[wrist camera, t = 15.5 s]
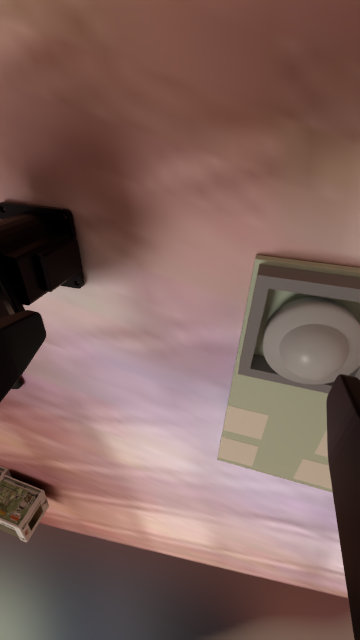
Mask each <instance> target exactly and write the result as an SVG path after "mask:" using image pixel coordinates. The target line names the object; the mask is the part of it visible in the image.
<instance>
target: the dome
mask: <svg viewBox="0 0 360 640" xmlns="http://www.w3.org/2000/svg"><path fill="white" fill-rule="evenodd" d="M263 352H264V356H265V359H266V361H267V363H268V364H269V366H270V367H271V368H272V369H273V370H274V371H275V372H276V373H278V374H279V375H281V376H282V377H284V378H286V379H288V380H291V381H294V382H298V383H302V384H326V383H331V382H334V381H335V379H336V377H337V376H338V375H340V374H344V375H350V374H351V373H352V372H354V371H355V370H356V369H357V368H358V367H359V366H360V323H359V321H358V319H357V317H356V316H355V314H354V313H353V312H352V311H351V310H350V309H349V308H347V307H346V306H344V305H343V304H341V303H339V302H337V301H334V300H331V299H326V298H318V297H310V298H302V299H298V300H294V301H292V302H289V303H287V304H285V305H283V306H282V307H280V308H279V309H277V310H276V311H275V312H274V313H273V314H272V315H271V317H270V318H269V319H268V321H267V323H266V326H265V329H264V340H263Z"/></svg>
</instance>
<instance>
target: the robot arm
mask: <svg viewBox="0 0 360 640" xmlns="http://www.w3.org/2000/svg"><path fill="white" fill-rule="evenodd" d="M4 209H5V210H4ZM64 214H65V215H66V217H67V219H66V218H65V217H64ZM77 281H78V282H79V283H77ZM60 285H61V286H66V287H72V288H81V287H82V286H84V277H83V272H82V263H81V258H80V252H79V246H78V241H77V238H76V232H75V226H74V221H73V216H72V213H71V212H70V211H69V210H68V209H66V208H57V207H47V206H38V205H29V204H20V203H11V202H1V203H0V402H1V401H2V400H3V398H4V397H5V396H6V395H7V393H8V392H9V391H10V390H11V388H12V387H13V386H14V385H15V383H16V382H17V381H18V379H19V378H20V377H21V375H22V374H23V372H24V371H25V369H26V368H27V366H28V365H29V363H30V362H31V360H32V359H33V357H34V356H35V354H36V352H37V351H38V349H39V348H40V346H41V345H42V343H43V342H44V340H45V338H46V331H45V327H44V324H43V320H42V317H41V315H40V314H39V313H38V312H34V311H29V310H25V309H24V307H23V305H30V304H32V303H33V302H34V301H36V300H37V299H39V298H40V297H42V296H43V295H44V294H46V293H47V292H52V291H53V290H54V289H56V288H57V287H59V286H60ZM326 410H327V450H328V463H329V471H330V478H331V484H332V491H333V498H334V504H335V511H336V518H337V525H338V531H339V538H340V545H341V552H342V558H343V565H344V572H345V579H346V585H347V592H348V599H349V606H350V612H351V618H352V626H353V633H354V639H355V640H360V380H359V379H358V378H357V377H354V376H349V375H344V374H340V375H338V376H337V377H336V379H335V381H334V383H333V385H332V387H331V390H330V392H329V394H328V396H327V402H326Z"/></svg>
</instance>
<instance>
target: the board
mask: <svg viewBox="0 0 360 640" xmlns="http://www.w3.org/2000/svg"><path fill="white" fill-rule="evenodd" d="M310 297H318V298H326V299H331V300H334V301H337V302H339V303H341V304H343V305H344V306H346V307H347V308H349V309H350V310H351V311H352V312H353V313H354V314H355V316H356V317H357V319H358V321H359V323H360V268H357V267H349V266H341V265H333V264H325V263H317V262H309V261H302V260H294V259H286V258H278V257H270V256H262V255H256V258H255V264H254V269H253V274H252V279H251V285H250V290H249V295H248V300H247V306H246V311H245V316H244V321H243V327H242V332H241V337H240V342H239V348H238V353H237V358H236V363H235V369H234V374H233V379H232V384H231V390H230V395H229V400H228V406H227V411H226V416H225V421H224V427H223V432H222V437H221V442H220V448H219V453H218V458H217V460H220V461H224V462H227V463H231V464H234V465H238V466H241V467H245V468H248V469H252V470H255V471H259V472H263V473H266V474H270V475H273V476H277V477H280V478H284V479H287V480H291V481H294V482H298V483H301V484H305V485H308V486H312V487H315V488H319V489H322V490H326V491H329V492H333V491H332V484H331V478H330V471H329V463H328V450H327V410H326V402H327V396H328V394H329V392H330V390H331V387H332V385H333V383H334V382H331V383H326V384H302V383H298V382H294V381H291V380H288V379H286V378H284V377H282V376H281V375H279V374H278V373H276V372H275V371H274V370H273V369H272V368H271V367H270V366H269V364H268V363H267V361H266V359H265V356H264V352H263V340H264V329H265V326H266V323H267V321H268V319H269V318H270V317H271V315H272V314H273V313H274V312H275V311H276V310H277V309H279V308H280V307H282V306H283V305H285V304H287V303H289V302H292V301H294V300H298V299H302V298H310ZM349 376H354V377H357V378H358V379H359V380H360V366H359V367H358V368H357V369H356V370H355V371H354V372H352V373H351V374H350V375H349Z"/></svg>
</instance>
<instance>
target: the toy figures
mask: <svg viewBox="0 0 360 640" xmlns="http://www.w3.org/2000/svg"><path fill="white" fill-rule="evenodd" d="M48 507H49V504H48V501H47V498H46V495H45V492H44V490H41V489H39V488H36V487H34V486H31V485H29V484H26V483H24V482H21V481H19V480H16V479H14V478H12V476H11V474H10V472H9V470H8V469H7V468H4V467H2V466H0V530H2V531H4V532H7V533H9V534H11V535H14V536H16V537H18V538H20V540H22V541H25V542H28V540H29V538H30V537H31V535H32V533H33V532H34V530H35V528H36V526H37V525H38V523H39V522H40V520H41V519H42V517H43V515H44V514H45V512H46V510H47V509H48Z"/></svg>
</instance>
